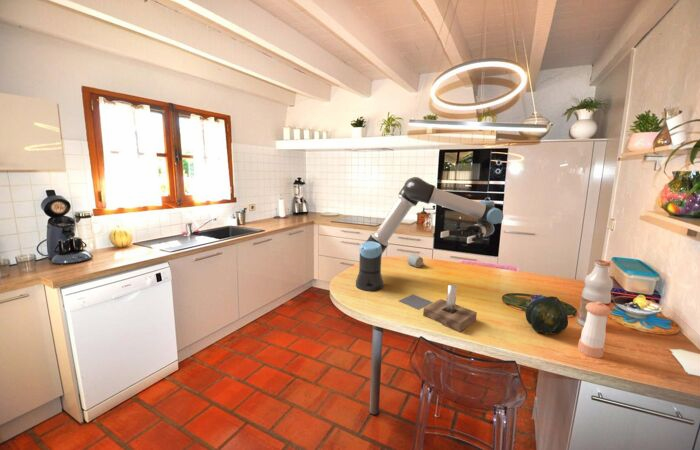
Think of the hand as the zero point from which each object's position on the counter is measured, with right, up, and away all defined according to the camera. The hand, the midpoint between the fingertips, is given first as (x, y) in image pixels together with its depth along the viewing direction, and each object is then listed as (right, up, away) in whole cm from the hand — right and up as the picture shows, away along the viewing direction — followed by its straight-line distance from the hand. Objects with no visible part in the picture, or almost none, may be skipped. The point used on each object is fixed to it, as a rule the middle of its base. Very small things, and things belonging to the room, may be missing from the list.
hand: (454, 237), depth 143 cm
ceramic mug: (-5, -21, +58) cm, 62 cm away
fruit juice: (+52, -37, -15) cm, 66 cm away
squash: (+30, -37, -19) cm, 51 cm away
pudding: (+41, -33, +1) cm, 53 cm away
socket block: (-6, -35, -12) cm, 37 cm away
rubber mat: (-18, -31, +3) cm, 36 cm away
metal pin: (-6, -35, -12) cm, 37 cm away
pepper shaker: (+37, -40, -34) cm, 64 cm away
